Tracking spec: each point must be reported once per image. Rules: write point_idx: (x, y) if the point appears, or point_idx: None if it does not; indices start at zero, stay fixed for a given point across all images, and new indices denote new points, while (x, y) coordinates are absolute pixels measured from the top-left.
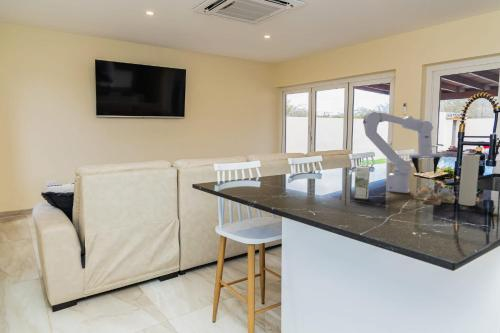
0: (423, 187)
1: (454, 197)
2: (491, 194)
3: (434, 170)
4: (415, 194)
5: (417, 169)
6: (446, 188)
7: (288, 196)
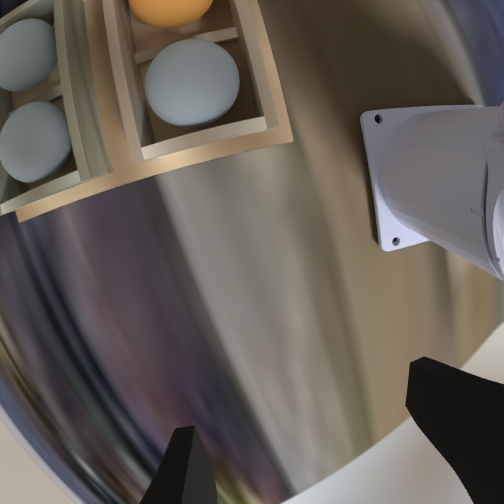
0: (207, 46)
1: None
2: (35, 453)
3: (179, 448)
4: (260, 18)
5: (448, 380)
6: (7, 129)
7: None
